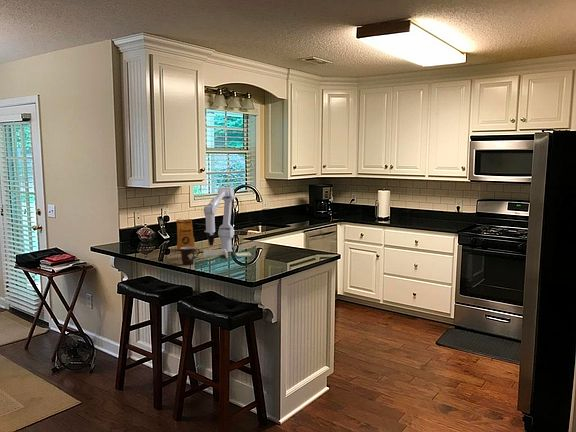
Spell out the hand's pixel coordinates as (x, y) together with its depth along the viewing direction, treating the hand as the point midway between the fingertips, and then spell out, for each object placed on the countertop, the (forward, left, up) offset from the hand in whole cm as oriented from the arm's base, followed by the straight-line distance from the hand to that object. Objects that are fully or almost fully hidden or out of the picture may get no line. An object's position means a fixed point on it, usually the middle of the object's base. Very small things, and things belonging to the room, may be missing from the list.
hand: (211, 244), depth 304 cm
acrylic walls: (+1, +3, -8) cm, 9 cm away
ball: (0, 0, -2) cm, 2 cm away
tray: (0, +21, -8) cm, 22 cm away
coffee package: (-32, -15, -8) cm, 36 cm away
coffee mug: (+18, -14, -8) cm, 24 cm away
